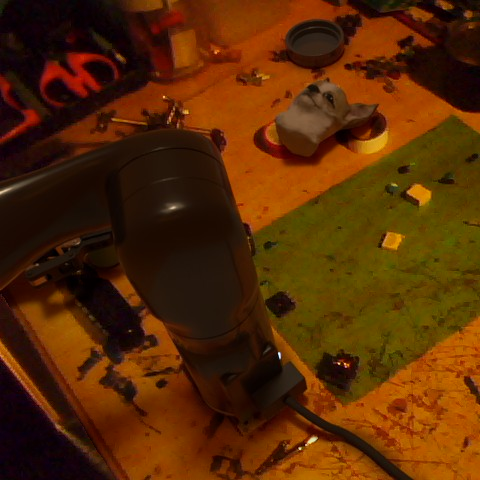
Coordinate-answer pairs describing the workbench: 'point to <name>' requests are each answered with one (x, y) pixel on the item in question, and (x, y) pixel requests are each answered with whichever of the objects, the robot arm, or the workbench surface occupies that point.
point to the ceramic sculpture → (318, 117)
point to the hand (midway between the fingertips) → (113, 216)
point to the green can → (103, 257)
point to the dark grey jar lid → (315, 43)
